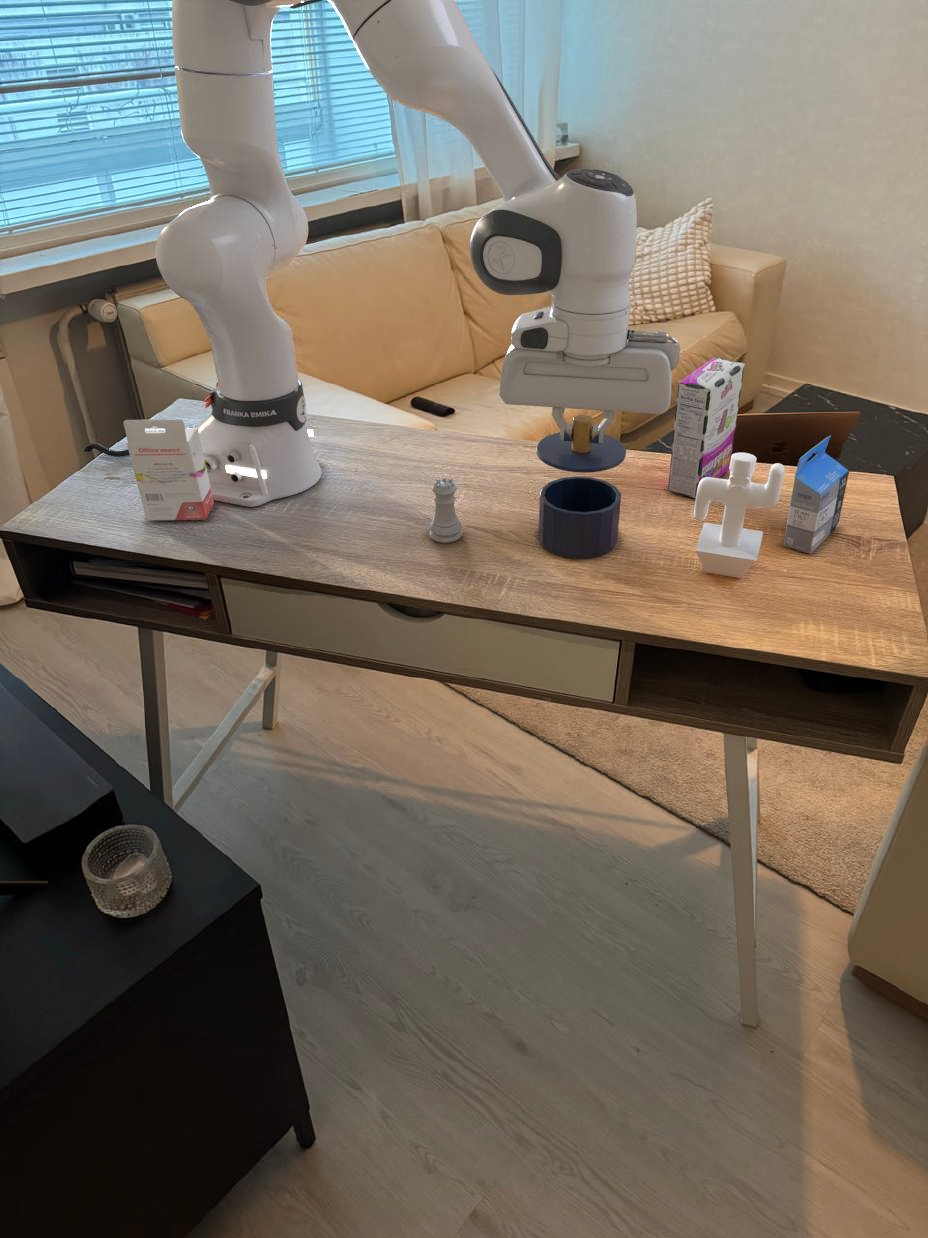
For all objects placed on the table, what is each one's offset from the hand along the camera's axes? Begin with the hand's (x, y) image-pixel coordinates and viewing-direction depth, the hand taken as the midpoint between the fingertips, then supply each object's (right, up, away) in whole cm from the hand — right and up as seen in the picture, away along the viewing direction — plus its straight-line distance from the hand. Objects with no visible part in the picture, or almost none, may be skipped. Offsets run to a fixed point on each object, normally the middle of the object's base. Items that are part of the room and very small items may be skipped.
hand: (581, 440), depth 113 cm
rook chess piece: (-17, -11, +9) cm, 22 cm away
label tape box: (+31, -11, +7) cm, 33 cm away
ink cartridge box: (-54, -7, +16) cm, 57 cm away
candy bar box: (+20, -2, +21) cm, 28 cm away
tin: (+1, -11, +8) cm, 14 cm away
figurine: (+18, -15, +2) cm, 24 cm away
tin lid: (0, -1, +1) cm, 2 cm away
